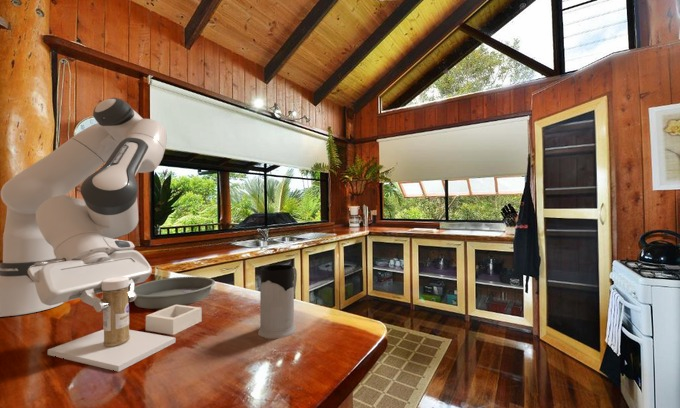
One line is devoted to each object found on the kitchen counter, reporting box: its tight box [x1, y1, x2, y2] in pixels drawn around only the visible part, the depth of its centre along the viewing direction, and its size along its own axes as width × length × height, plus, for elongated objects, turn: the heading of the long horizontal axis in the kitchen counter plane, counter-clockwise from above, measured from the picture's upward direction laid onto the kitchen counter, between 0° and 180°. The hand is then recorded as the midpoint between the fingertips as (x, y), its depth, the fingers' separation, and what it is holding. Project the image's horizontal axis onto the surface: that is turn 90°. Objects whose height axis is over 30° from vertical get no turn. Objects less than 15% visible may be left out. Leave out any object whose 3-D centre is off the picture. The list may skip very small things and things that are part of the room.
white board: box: [47, 329, 176, 373], centre depth 60 cm, size 20×12×1 cm, turn 72°
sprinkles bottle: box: [102, 277, 130, 347], centre depth 61 cm, size 5×5×13 cm
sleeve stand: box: [145, 304, 203, 336], centre depth 72 cm, size 9×9×4 cm
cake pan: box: [133, 276, 216, 310], centre depth 96 cm, size 25×25×4 cm
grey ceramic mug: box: [258, 264, 298, 340], centre depth 72 cm, size 9×14×15 cm, turn 162°
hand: (118, 304), depth 61 cm, fingers closed on sprinkles bottle, 4 cm apart
